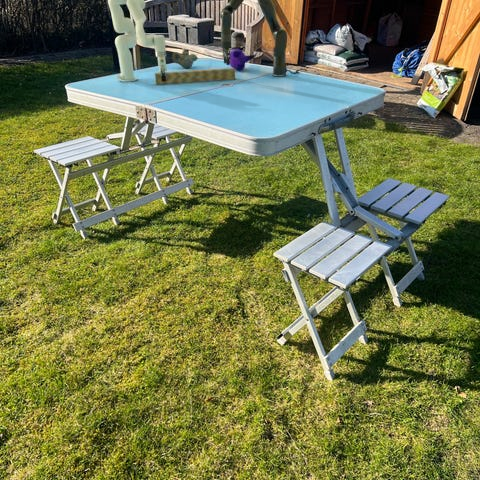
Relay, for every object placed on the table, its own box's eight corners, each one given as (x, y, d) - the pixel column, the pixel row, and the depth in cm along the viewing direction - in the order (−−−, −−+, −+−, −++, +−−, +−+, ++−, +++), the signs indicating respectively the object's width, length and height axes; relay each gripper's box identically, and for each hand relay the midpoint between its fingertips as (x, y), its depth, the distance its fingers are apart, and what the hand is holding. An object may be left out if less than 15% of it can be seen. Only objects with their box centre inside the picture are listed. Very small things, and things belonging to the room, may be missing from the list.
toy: (240, 72, 359) (228, 71, 382) (259, 65, 362) (246, 64, 386) (234, 52, 351) (222, 52, 375) (253, 45, 354) (241, 45, 378)
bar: (156, 84, 327) (155, 74, 323) (155, 83, 331) (154, 72, 327) (235, 79, 339) (235, 68, 335) (233, 78, 343) (233, 67, 339)
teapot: (196, 65, 393) (195, 47, 386) (199, 67, 384) (198, 49, 376) (172, 67, 388) (170, 48, 380) (175, 69, 378) (173, 50, 370)
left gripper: (167, 55, 313) (169, 82, 322) (164, 52, 327) (167, 78, 337) (156, 56, 312) (159, 83, 321) (154, 52, 326) (157, 78, 335)
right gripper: (233, 41, 321) (233, 65, 329) (228, 39, 333) (229, 62, 341) (223, 41, 319) (223, 66, 327) (219, 39, 331) (219, 62, 339)
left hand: (163, 80), depth 329 cm, fingers closed on bar, 4 cm apart
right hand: (226, 64), depth 334 cm, fingers open, 8 cm apart
